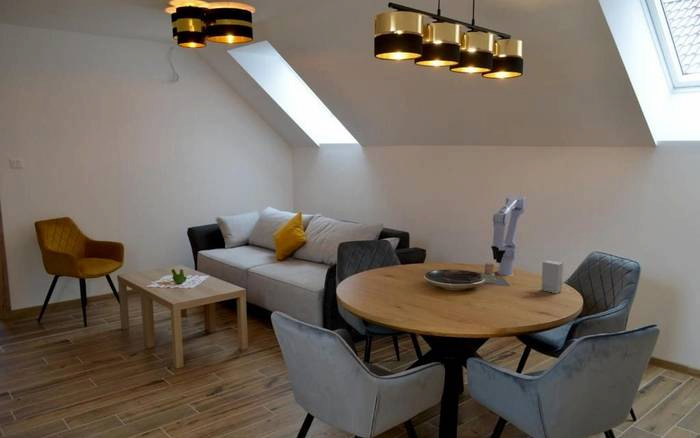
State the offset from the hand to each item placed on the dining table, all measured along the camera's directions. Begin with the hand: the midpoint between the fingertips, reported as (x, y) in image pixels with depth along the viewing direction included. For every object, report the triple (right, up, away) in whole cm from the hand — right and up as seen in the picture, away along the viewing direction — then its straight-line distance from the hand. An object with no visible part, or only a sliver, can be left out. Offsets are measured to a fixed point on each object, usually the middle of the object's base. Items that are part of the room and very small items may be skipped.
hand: (497, 261), depth 281 cm
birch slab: (-6, -10, -3) cm, 12 cm away
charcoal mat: (-6, -11, -3) cm, 13 cm away
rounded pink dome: (-5, -6, -4) cm, 9 cm away
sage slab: (-6, -8, -3) cm, 11 cm away
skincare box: (+22, -14, -16) cm, 31 cm away
